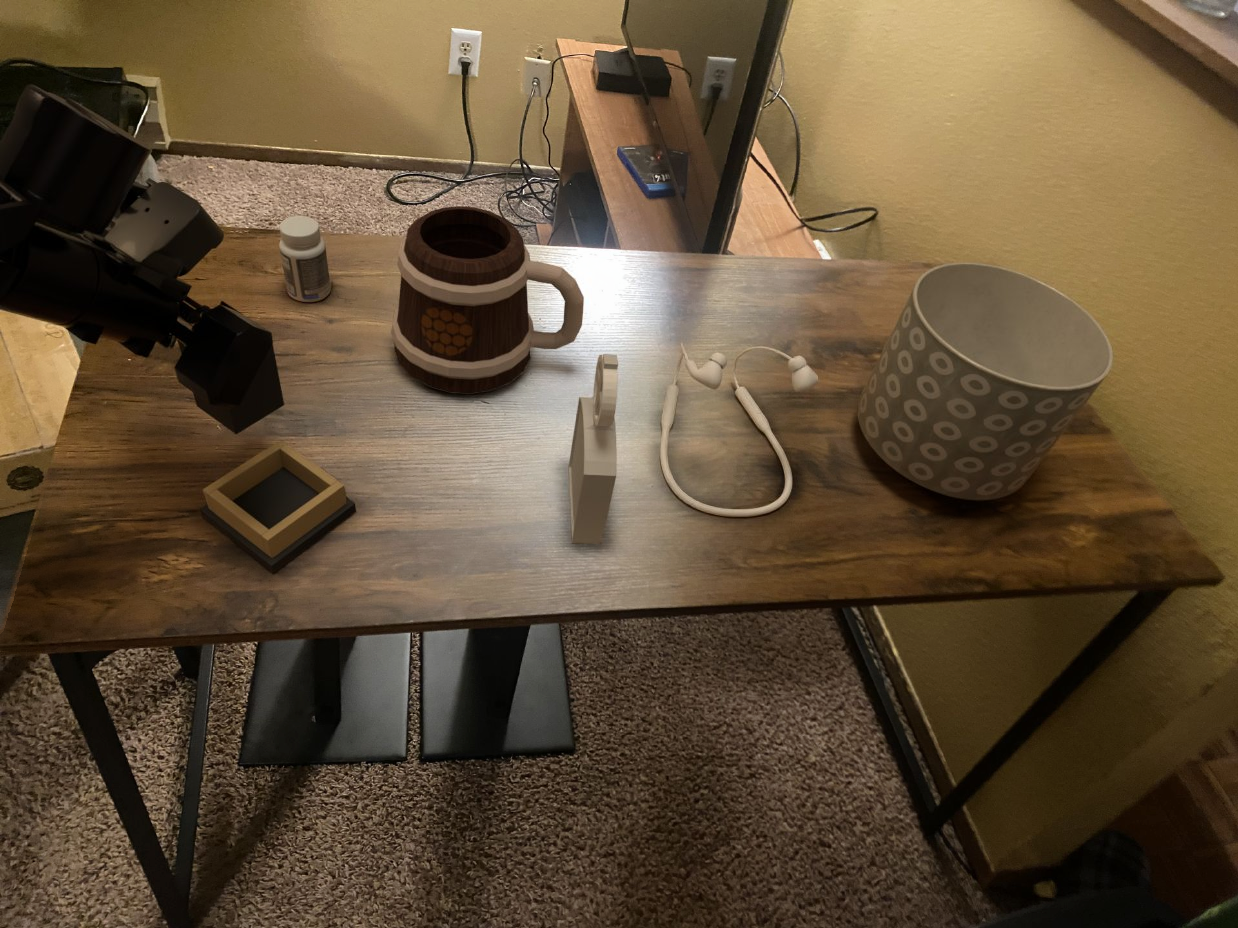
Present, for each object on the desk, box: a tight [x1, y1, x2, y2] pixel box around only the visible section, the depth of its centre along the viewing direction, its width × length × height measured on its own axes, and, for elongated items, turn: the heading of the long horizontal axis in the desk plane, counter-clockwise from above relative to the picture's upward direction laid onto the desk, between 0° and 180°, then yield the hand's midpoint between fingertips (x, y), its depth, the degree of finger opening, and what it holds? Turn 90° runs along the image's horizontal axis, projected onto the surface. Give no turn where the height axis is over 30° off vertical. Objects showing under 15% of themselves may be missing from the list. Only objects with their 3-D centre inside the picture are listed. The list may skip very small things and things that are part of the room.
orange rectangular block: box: [176, 324, 285, 435], centre depth 69 cm, size 5×5×8 cm
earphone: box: [659, 342, 819, 518], centre depth 85 cm, size 14×17×18 cm
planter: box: [856, 261, 1114, 501], centre depth 85 cm, size 19×19×18 cm
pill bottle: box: [278, 215, 332, 303], centre depth 92 cm, size 5×5×8 cm
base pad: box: [199, 439, 357, 575], centre depth 72 cm, size 9×9×4 cm
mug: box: [390, 205, 585, 395], centre depth 86 cm, size 20×15×15 cm
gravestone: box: [568, 353, 619, 545], centre depth 73 cm, size 3×9×18 cm, turn 5°
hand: (241, 339), depth 68 cm, fingers closed on orange rectangular block, 5 cm apart
